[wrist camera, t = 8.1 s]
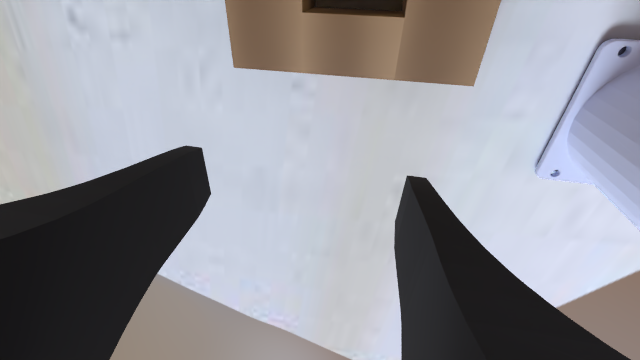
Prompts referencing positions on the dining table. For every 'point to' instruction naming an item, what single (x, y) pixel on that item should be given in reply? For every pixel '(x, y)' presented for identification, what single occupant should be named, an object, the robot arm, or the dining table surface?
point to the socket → (364, 39)
